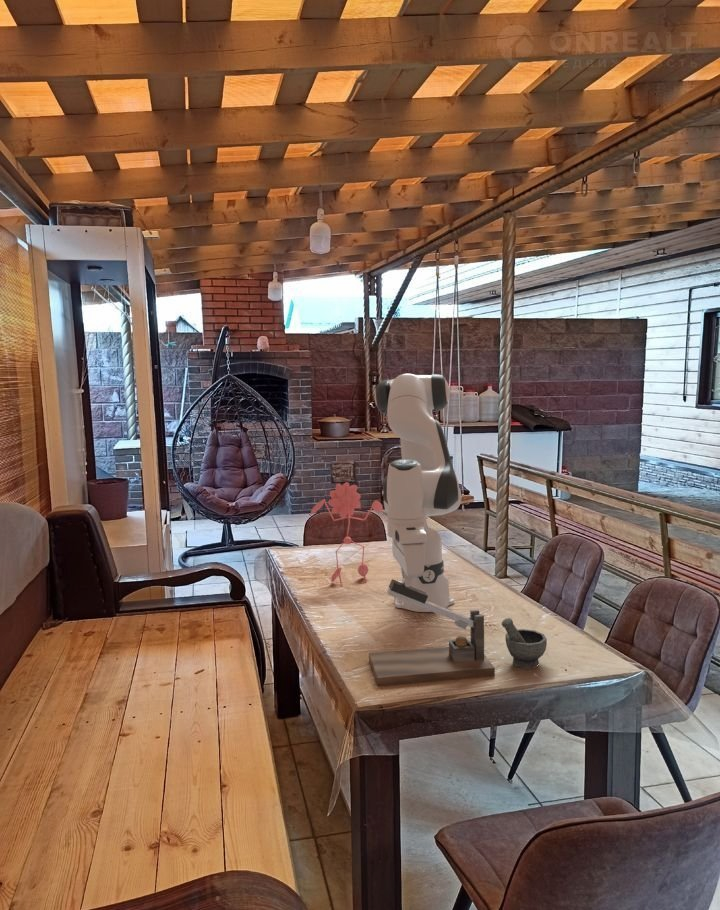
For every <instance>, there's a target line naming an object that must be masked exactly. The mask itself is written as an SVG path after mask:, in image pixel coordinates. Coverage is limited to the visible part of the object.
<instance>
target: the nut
mask: <svg viewBox="0 0 720 910" xmlns="http://www.w3.org/2000/svg"><path fill="white" fill-rule="evenodd" d="M467 639H468V638H467V637H466V636H464V635H458V636H457V637H456V638H455V639H454V640H455V643H456V645H457V647H466V646H467V644H468V641H467Z"/></svg>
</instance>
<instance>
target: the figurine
mask: <svg viewBox="0 0 720 910" xmlns="http://www.w3.org/2000/svg"><path fill="white" fill-rule="evenodd" d="M334 489H335V490H330V491H329V497H330V499H329V500H328V502H326V499H325V498H323V500H319V502H317V503H316V504H315V505H314V506H313V508H312V509H311V511H310V514H309V515H310V516H311V515H314V514H315V513H317V512H318V511H319V510H320V509H321V508H322V507H323V506H324V505H325V507H326V509H327V511H328V513H329V516H330V518H331V519H332V520H333V522H336V521H341V520H345V519H347V521H348V525H347V531H346V536H345V537H344V538H343V542H342V543H341V544H340V545H339V547H338V548H337V549H336V550H335V556H336V559H335V560H336V570H335V571H333V574H331V575H332V576H331V583H333V582H335V580H336V579H337V578H338V579H339V583H340V587H343V581H342V577H341V574H340V573H342V567H339V562H338V561H339V560H338V552H339V550H340V548H341V547H342V546H343V545H344V544H345V545H350V544H351V543H353V544H355V545H357V546H361V547H362V558H361V560H362V561H361V564H360V565H359V566H358V568H357V573H358V575H360V576H361V577H363V578H364V582H365V583H367V578H366V577H367V574H368V573H369V567H368V565H367V564H365V563H364V558H365V556H364V555H365V554H364V553H365V547H364V545H362V544H360V543H357V542H354V541H353V540H352V538H351V537H350V536H349V531H350V526H351V519H353V520H354V519H355V520H359V521H365V520H367V519H368V517H369V514H371V512H372V510H373V511H374V512H376V513H378V514H380V513H381V512H382V511H383V507H384V505H383V504H382V503H381V502H380V501H378V500H375V499H374V501H373V502H372V503H371V507H370V508H369V511H367V514H366V515H365V517H364V518H360V517H355V516H354V514H355V509H361V507H362V506H361V505H362V504H361V501H360V499H361V497H362V496H361V494H360V493H359V492H357V491H358V485H355V484H352V485H350V483H349V482H348V481H347V482H346V481H345V483H343V484H340V482H339V483H337V484H336V485H335V488H334ZM328 505H329V506H330V507H332V508H331V510H330V508H329V506H328ZM333 514H339V517H340V518H336V519H335V518H334V516H333Z"/></svg>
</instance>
